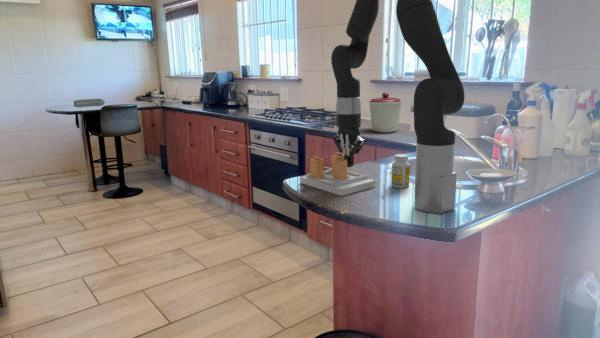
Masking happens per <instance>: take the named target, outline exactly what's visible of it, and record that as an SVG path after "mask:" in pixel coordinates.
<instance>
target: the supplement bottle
mask: <svg viewBox="0 0 600 338" xmlns="http://www.w3.org/2000/svg"><path fill="white" fill-rule="evenodd" d="M410 171H411V163H410V162H409V155H408V154H405V153H404V154H403V153H398V154H394V161H393V162H392V163H391V182H390V183H391V186H392V187H394V188H399V189H403V188H405V189H406V188H407V187H410V174H411V172H410Z"/></svg>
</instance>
